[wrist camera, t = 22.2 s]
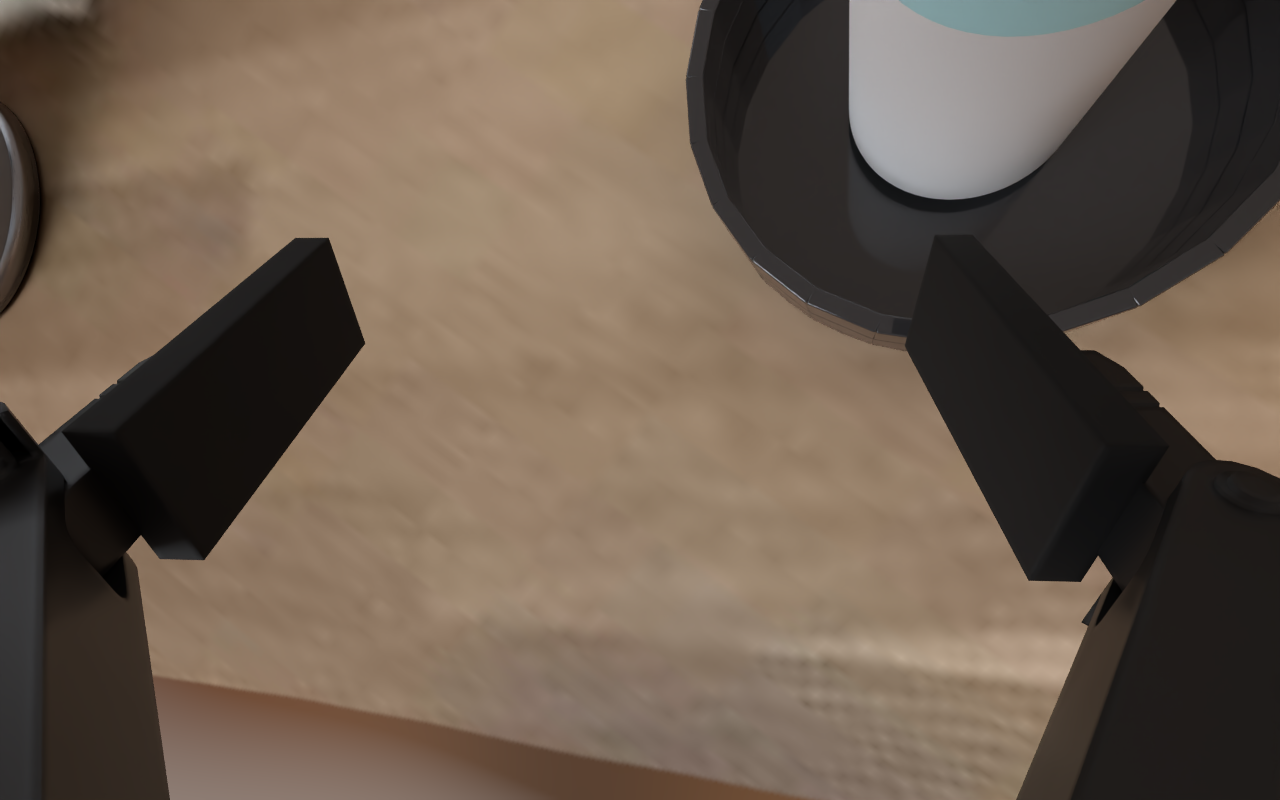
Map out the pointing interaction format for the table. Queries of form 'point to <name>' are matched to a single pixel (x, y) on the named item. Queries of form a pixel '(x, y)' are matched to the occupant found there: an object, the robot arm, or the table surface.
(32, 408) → the table surface
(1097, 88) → the can
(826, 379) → the table surface
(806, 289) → the skillet
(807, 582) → the table surface
